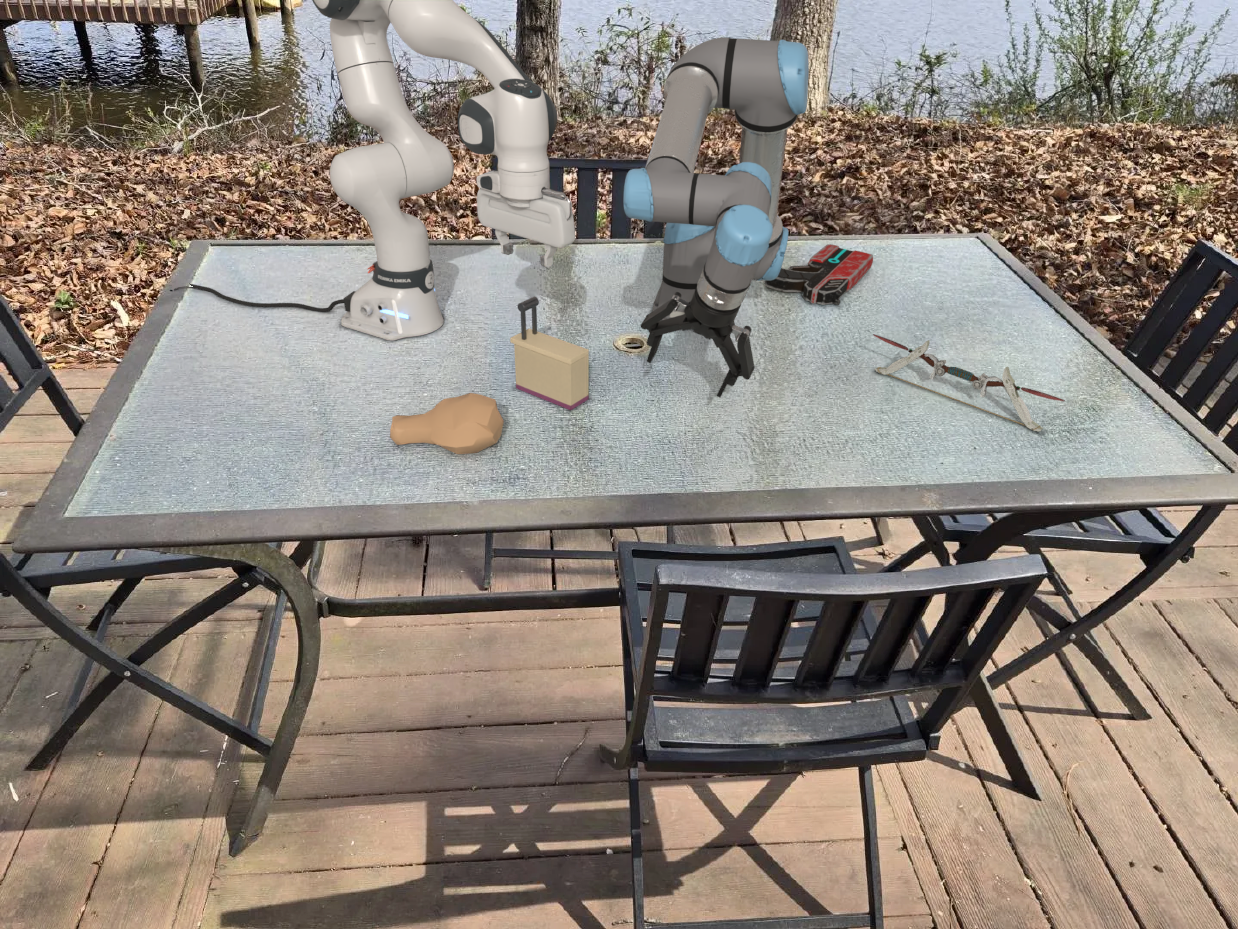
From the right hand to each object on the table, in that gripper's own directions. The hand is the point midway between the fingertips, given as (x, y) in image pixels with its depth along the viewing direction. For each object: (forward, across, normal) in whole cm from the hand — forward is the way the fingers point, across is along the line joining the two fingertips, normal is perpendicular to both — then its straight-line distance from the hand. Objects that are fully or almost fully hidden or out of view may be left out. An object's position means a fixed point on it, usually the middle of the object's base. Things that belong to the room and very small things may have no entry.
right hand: (686, 374), depth 153 cm
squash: (+15, -32, -26) cm, 44 cm away
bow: (+8, +48, +30) cm, 58 cm away
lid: (+12, -26, +1) cm, 29 cm away
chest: (+20, -22, -3) cm, 30 cm away
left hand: (-1, -35, +7) cm, 36 cm away
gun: (+37, +16, +76) cm, 86 cm away
